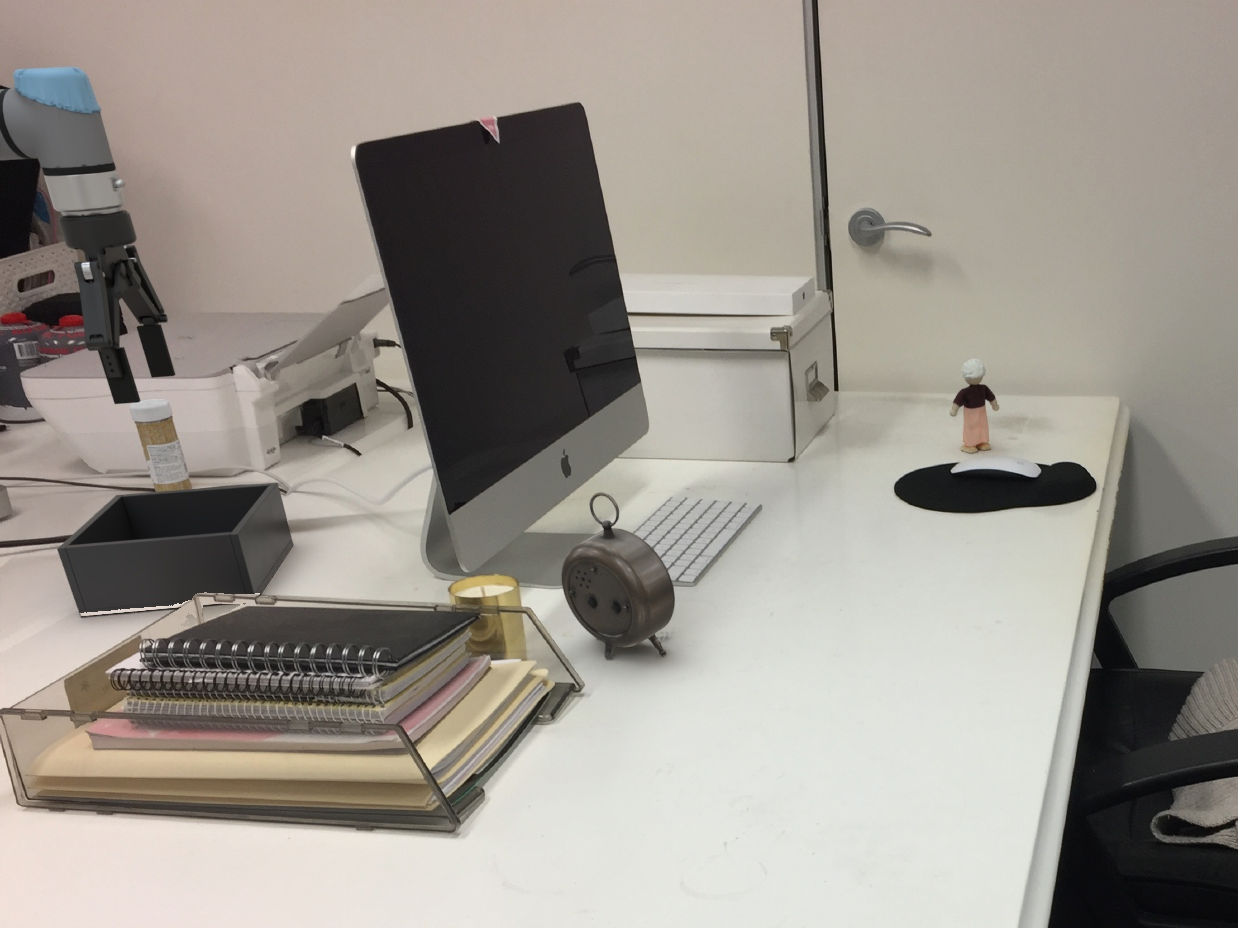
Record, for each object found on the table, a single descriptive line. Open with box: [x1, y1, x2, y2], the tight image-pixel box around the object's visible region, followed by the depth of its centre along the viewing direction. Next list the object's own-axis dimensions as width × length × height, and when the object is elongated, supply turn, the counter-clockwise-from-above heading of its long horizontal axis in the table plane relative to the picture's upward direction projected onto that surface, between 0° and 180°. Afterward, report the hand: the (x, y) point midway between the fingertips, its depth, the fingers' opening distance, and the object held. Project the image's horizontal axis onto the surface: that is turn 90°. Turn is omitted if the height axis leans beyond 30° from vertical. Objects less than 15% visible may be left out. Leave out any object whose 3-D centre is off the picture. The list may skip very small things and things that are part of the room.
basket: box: [56, 482, 295, 614], centre depth 146 cm, size 18×18×8 cm
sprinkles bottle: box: [128, 398, 193, 492], centre depth 169 cm, size 5×5×14 cm
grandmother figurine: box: [949, 358, 1000, 454], centre depth 181 cm, size 8×4×13 cm, turn 130°
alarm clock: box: [561, 491, 676, 660], centre depth 124 cm, size 11×5×16 cm, turn 59°
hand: (146, 389), depth 165 cm, fingers open, 13 cm apart
